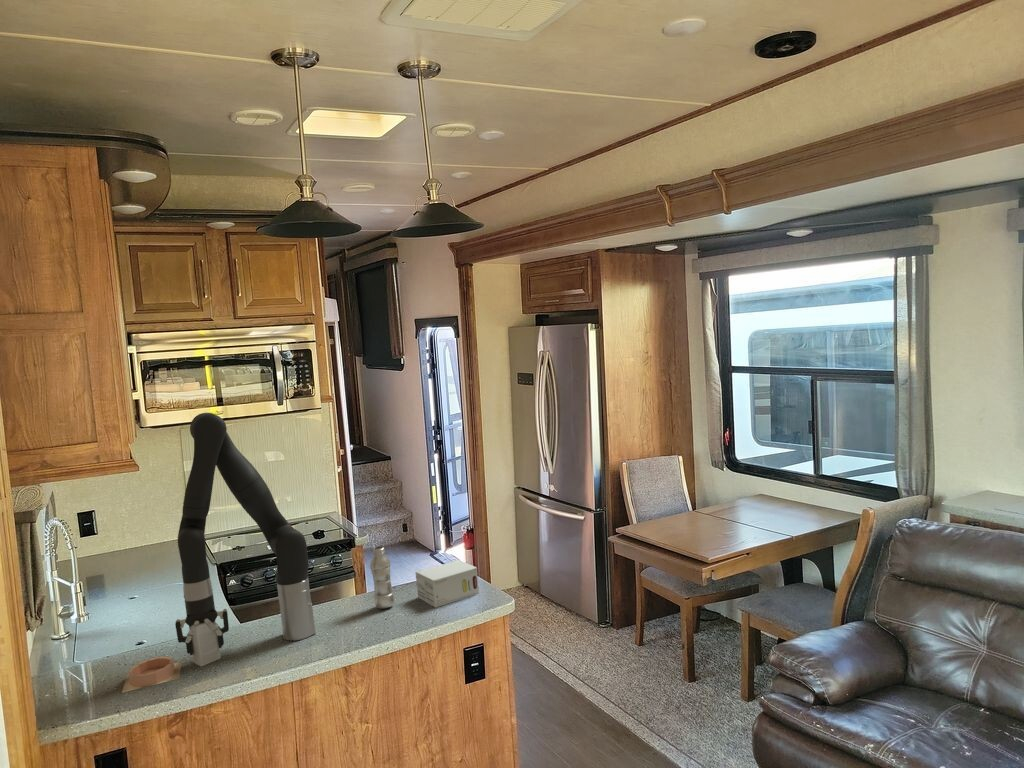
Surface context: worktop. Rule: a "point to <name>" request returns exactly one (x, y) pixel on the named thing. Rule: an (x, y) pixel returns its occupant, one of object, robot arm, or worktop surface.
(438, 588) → the supplement box
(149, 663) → the terracotta bowl
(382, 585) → the plastic bottle
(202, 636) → the skincare box
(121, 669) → the worktop surface
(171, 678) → the cork mat
